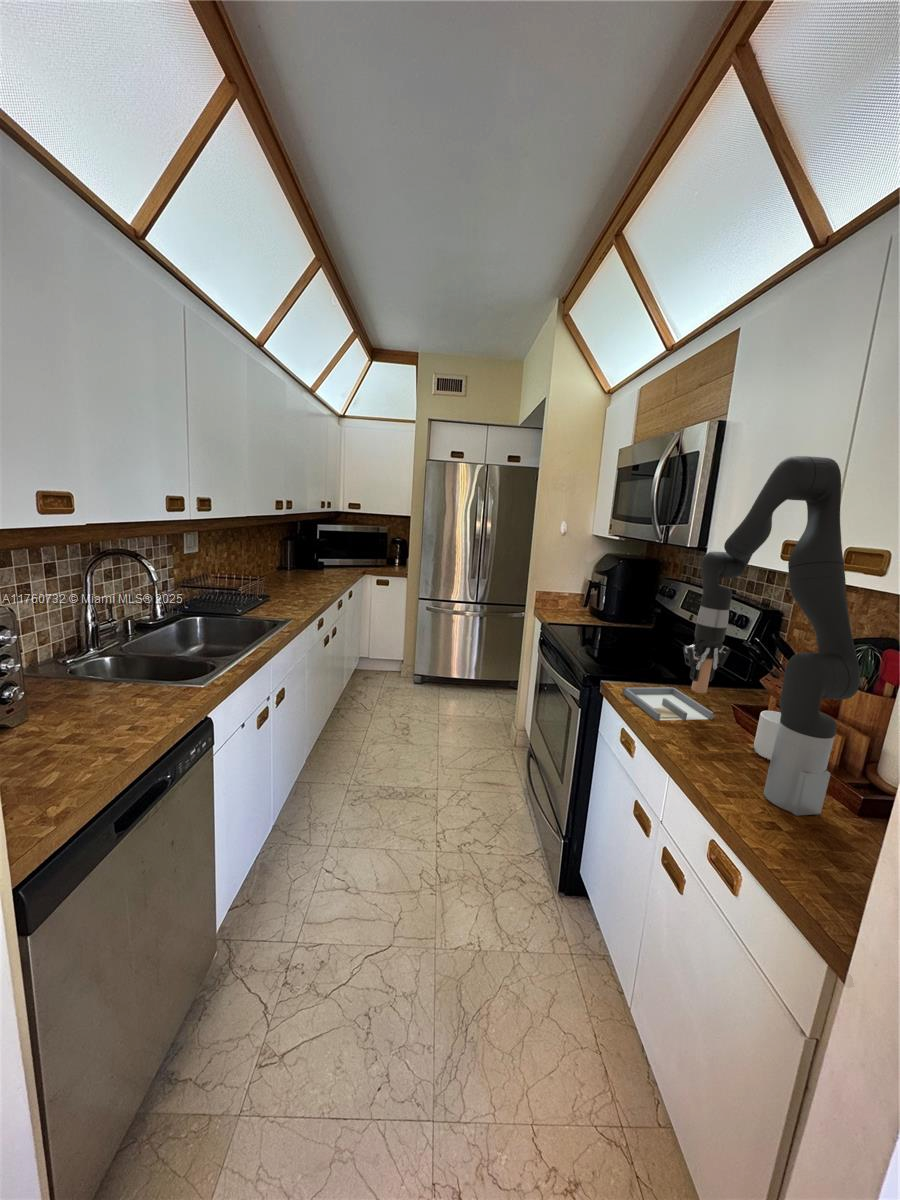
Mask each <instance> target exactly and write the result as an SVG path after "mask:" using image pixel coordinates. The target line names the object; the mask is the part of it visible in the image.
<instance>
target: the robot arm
mask: <svg viewBox="0 0 900 1200" xmlns="http://www.w3.org/2000/svg"><path fill="white" fill-rule="evenodd" d="M841 499H842V473H841V469H840V466H839V463H838V462H836V461H835V460H834V459H832V458H829V457H825V456H824V457H822V456H807V455H803V456H802V455H792V456H788V457H786V458H784V459H783V460H782V461H780V462H779V463H778V465H776V467H775V468H774V469H773V471H772V472H771V474H770V475H769V477H768V479H767V480H766V482H765V484H764V485H763V487H762V488H761V491H760V492H759V494H758V495H757V496H756V499H755V501H754V503H753V504H752V506H751V508H750V510H749V511H748V512H747V514H746V516H745V517H744V519H743V520H742V522H741V523H740V524H739V525H738V526H737V527H736V528H735V530H733V532H731V534H730V536H729V537H728V538H727V539H726V541H725V543H724V546H723V547H724V551H713V550H712V551H708V552H707V553H706V554H705V555H704V556H703V557H702V559H701V563H700V572H701V581H702V595H701V597H702V598H701V601H700V607H699V610H698V613H697V619H696V624H695V628H694V630H695V631H694V641H693V643H692V644H690V645H686V644H685V645H683V647H682V649H683V650H682V651H683V657H684V663H685V665H687V666H688V667H690V672H689V678H690V680H691V681H692V682H693V681H698V676H699V671H700V669H699V668H700V666H701V664H702V662H704V660H705V658H712V659H713V662H712V667H711V672H710V678H709V682H712V680H714V677H715V674H716V673H715V672H716V670H717V668H723V667H724V665H725V662H726V661H727V659H728V657H729V655H730V653H731V651H732V650H731V648H729V646H725V645H724V644H723V642H724V641H725V638H726V633H727V628H728V623H729V618H730V606H731V601H732V598H733V597H732V596H733V592H732V589H731V588H730V587H727V586H723V585H721V584H720V582H719V578H720V579H721V578H722V579H735V578H738V577H740V576H741V575H743V574H744V572H745V571H746V570H747V567H748V565H749V563H750V561H751V559H752V556H753V554H754V553H755V552H756V551H757V550H759V548H761V546H762V545H763V544H765V542H766V541H767V540H768V538H769V536H770V534H771V531H772V528H773V515H774V512H775V511H776V509H778V508H779V507H780V506H781V505H782V504H783V503H785V502H786V501H805V503H806V508H807V511H806V512H807V520H806V526H805V528H804V531H803V533H802V534H801V536H800V538H799V539H798V541H797V543H796V544H795V546H794V548H793V549H792V551H791V553H790V555H789V558H788V565H787V568H788V582H789V590H790V593H791V595H792V597H793V599H794V601H795V602H796V603H797V605H798V607H799V608H800V609H801V611H802V613H803V614H804V615H805V617H806V619H808V622H810V624H811V626H812V627H813V630H814V633H815V637H816V642H817V651H818V652H810V651H809V652H808V651H807V652H803V651H802V652H798V653H795V654H794V655H792V656H791V657H790V659H789V660H788V662H787V663H786V665H785V668H784V674H783V679H782V685H781V693H780V697H779V710H780V713H781V718H780V722H779V726H778V731H777V735H776V739H775V744H774V748H773V753H772V757H771V760H770V762H769V767H768V770H767V775H766V780H765V784H764V790H763V795H764V797H765V798H766V799H767V800H768V801H769V803H772V804H773V805H774V806H776V807H778V808H780V809H783V810H784V811H787V812H789V813H791V814H793V815H794V816H798V817H799V816H808V815H809V816H811V815H813V816H814V815H821V813H822V809H823V806H824V805H823V804H824V801H825V798H826V793H827V790H828V786H829V781H830V780H831V779H830V778H831V772H830V771H828V770H827V769H828V765H829V764H828V763H829V761H830V756H831V752H832V748H833V745H834V741H835V738H836V733H837V730H838V729H837V728H838V723H837V721H836V720H835V719H834V718H833V717H831V715H828V714H826V713H824V712H822V711H821V710H820V709H821V701H822V700H835V701H836V700H837V701H838V700H839V701H841V700H848V699H852V697H853V696H855V695H856V694H857V693H858V690H859V688H860V686H861V685H860V684H861V671H860V665H859V664H860V663H859V661H858V660H859V659H858V655H857V651H856V646H855V643H854V639H853V633H852V628H851V622H850V616H849V615H850V614H849V609H848V608H849V606H848V600H847V589H846V588H847V587H846V586H847V583H846V582H847V581H846V571H845V570H846V569H845V561H844V556H843V555H844V554H843V544H842V531H841V529H842V528H841V527H842V526H841V503H842V500H841ZM698 656H699V657H700V658H698ZM696 662H697V663H696Z"/></svg>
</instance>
